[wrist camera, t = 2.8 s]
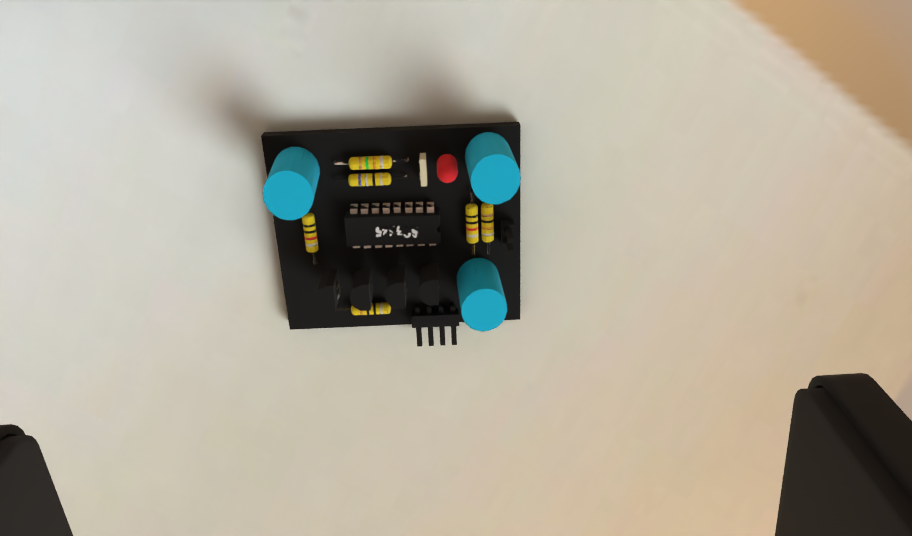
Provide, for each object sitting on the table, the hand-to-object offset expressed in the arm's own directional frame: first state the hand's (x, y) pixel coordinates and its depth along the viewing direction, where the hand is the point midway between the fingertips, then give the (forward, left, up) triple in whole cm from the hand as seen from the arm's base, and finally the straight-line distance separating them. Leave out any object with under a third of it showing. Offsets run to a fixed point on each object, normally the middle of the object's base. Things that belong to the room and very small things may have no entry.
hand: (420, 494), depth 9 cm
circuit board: (0, -1, -8) cm, 8 cm away
